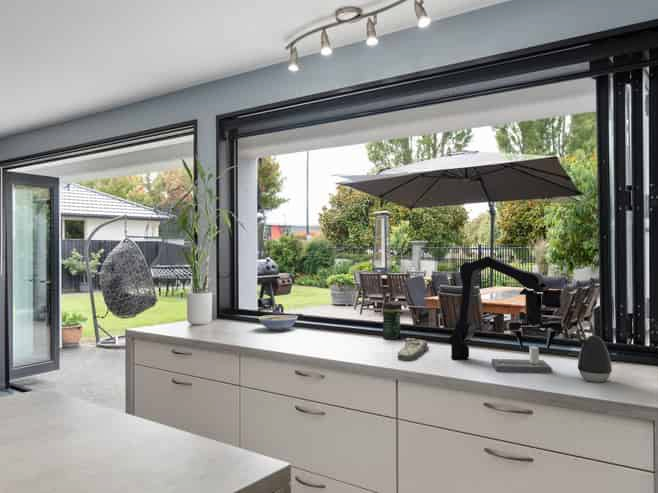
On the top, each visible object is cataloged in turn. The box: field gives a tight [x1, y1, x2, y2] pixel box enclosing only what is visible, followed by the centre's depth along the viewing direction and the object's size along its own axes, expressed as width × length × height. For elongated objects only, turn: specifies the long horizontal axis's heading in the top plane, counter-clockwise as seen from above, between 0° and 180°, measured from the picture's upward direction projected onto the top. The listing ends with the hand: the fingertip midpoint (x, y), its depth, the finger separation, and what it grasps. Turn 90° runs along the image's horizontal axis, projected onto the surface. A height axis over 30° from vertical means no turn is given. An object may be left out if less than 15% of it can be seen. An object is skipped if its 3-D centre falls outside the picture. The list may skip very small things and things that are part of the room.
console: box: [491, 358, 552, 374], centre depth 188 cm, size 19×12×2 cm, turn 80°
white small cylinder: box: [528, 345, 540, 364], centre depth 187 cm, size 3×4×6 cm, turn 170°
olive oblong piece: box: [397, 337, 428, 362], centre depth 220 cm, size 35×5×10 cm
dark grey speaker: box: [577, 335, 613, 383], centre depth 170 cm, size 10×10×15 cm
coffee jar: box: [382, 301, 402, 340], centre depth 256 cm, size 10×8×19 cm
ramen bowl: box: [258, 313, 303, 332], centre depth 289 cm, size 25×23×8 cm
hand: (534, 348), depth 187 cm, fingers open, 9 cm apart
